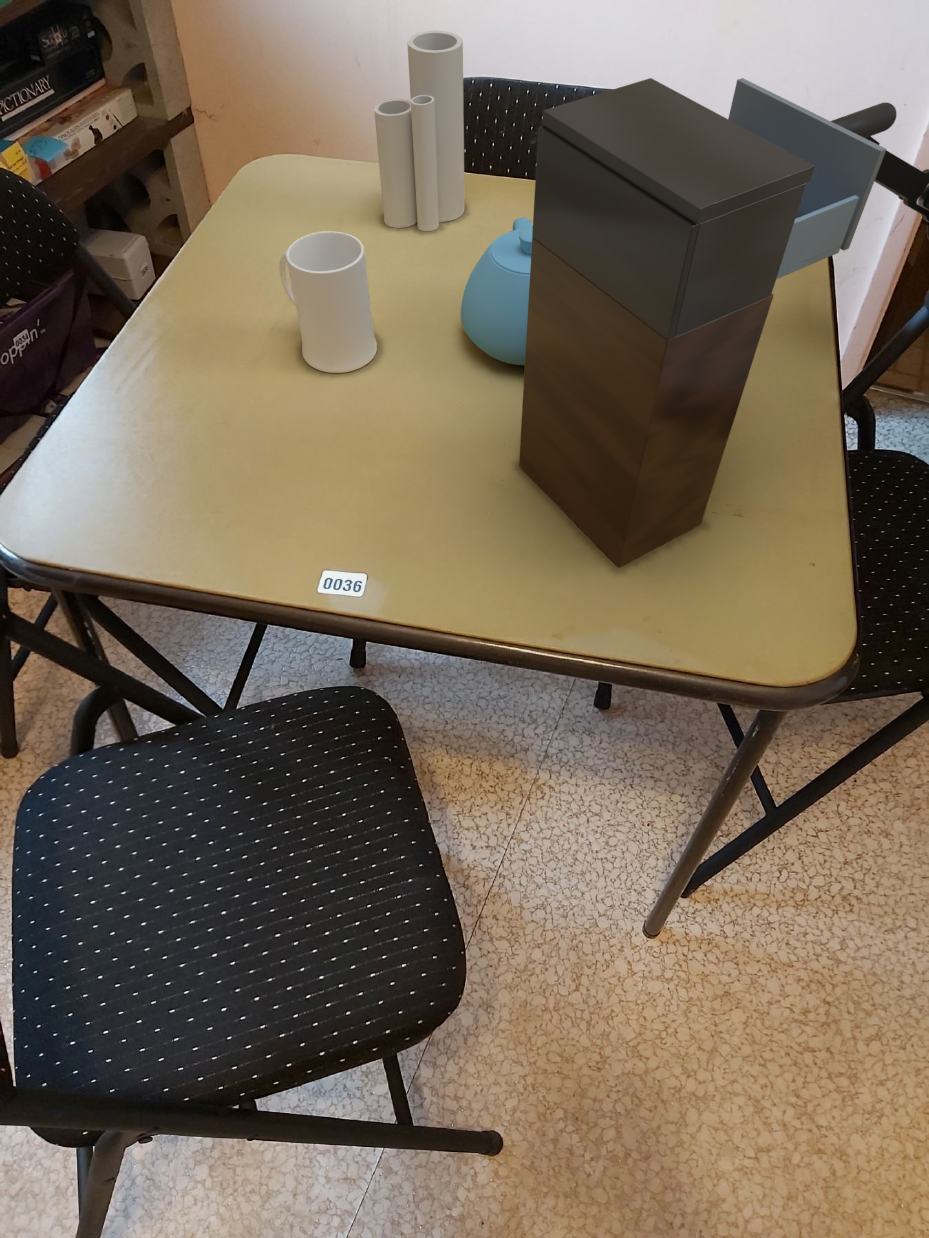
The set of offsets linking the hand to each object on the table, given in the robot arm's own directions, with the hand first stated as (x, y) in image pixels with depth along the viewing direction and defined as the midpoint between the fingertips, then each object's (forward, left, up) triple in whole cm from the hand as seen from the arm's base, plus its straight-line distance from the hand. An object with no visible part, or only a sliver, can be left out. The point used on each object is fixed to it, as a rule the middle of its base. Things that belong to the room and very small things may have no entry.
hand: (897, 165), depth 71 cm
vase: (+43, +37, -24) cm, 62 cm away
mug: (+16, +51, -24) cm, 59 cm away
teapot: (+14, +26, -24) cm, 38 cm away
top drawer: (-6, +12, 0) cm, 14 cm away
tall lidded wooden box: (-12, +25, -24) cm, 36 cm away
